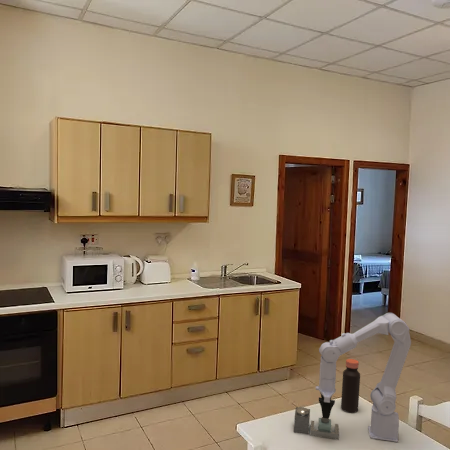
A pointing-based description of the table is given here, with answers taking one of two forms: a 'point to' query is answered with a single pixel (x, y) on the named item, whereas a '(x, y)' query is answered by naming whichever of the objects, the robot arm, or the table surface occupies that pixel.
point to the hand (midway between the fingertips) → (325, 412)
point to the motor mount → (303, 425)
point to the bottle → (350, 387)
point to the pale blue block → (324, 424)
